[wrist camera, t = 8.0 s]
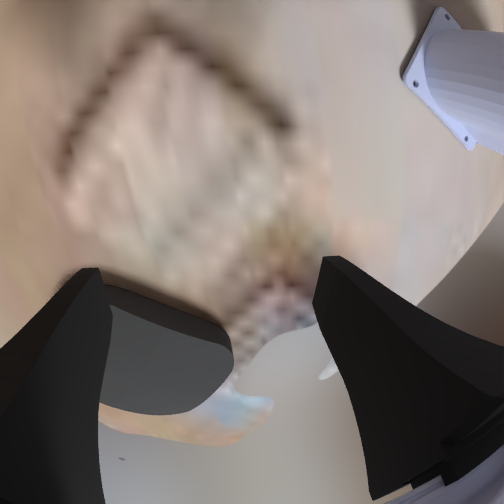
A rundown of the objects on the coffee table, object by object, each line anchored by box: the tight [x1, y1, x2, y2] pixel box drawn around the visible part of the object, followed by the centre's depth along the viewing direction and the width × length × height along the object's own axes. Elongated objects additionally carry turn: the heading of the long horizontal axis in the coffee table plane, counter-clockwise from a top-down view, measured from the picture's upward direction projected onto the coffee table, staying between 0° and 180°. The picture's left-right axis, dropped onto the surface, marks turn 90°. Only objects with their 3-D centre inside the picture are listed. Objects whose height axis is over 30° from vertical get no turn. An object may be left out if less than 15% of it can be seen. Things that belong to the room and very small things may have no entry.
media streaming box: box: [99, 285, 234, 415], centre depth 23 cm, size 15×15×3 cm
